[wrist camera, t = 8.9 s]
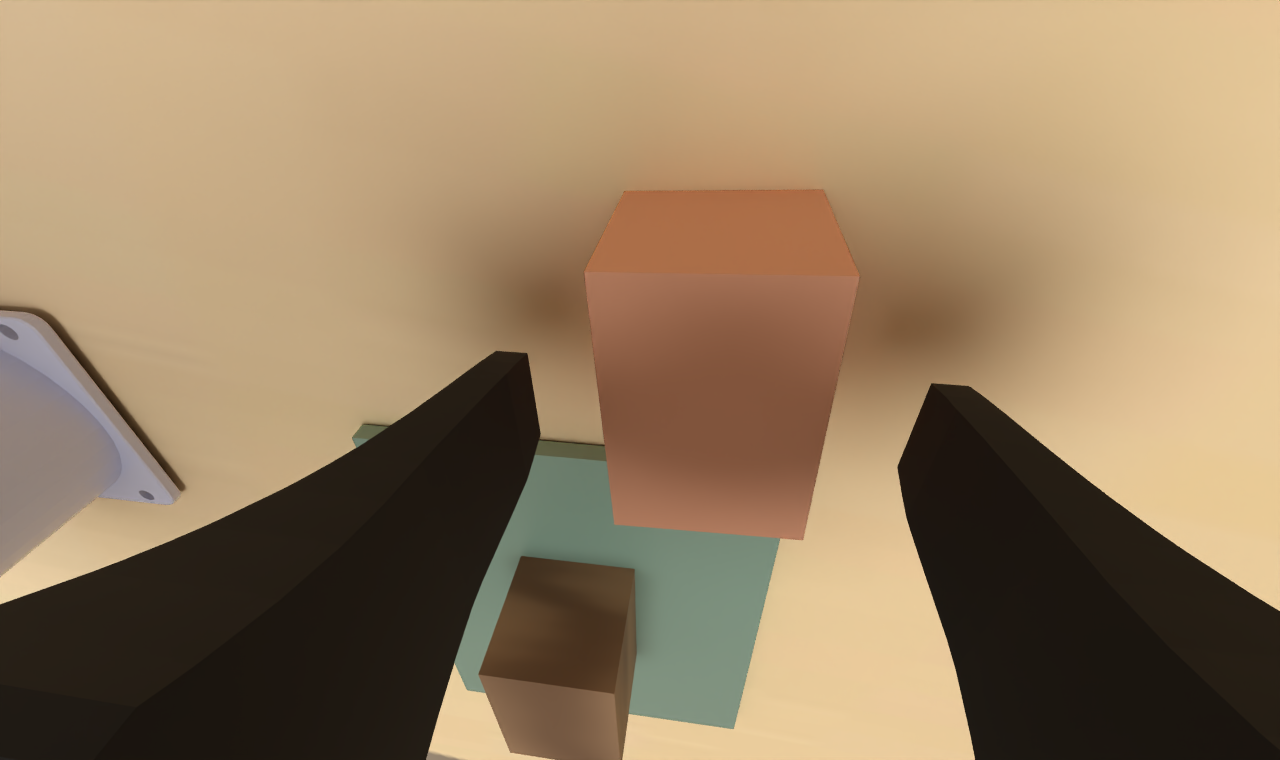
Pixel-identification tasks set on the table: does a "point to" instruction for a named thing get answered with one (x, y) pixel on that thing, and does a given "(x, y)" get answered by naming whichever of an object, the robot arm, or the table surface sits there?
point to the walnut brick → (564, 660)
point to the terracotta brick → (718, 355)
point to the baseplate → (664, 586)
